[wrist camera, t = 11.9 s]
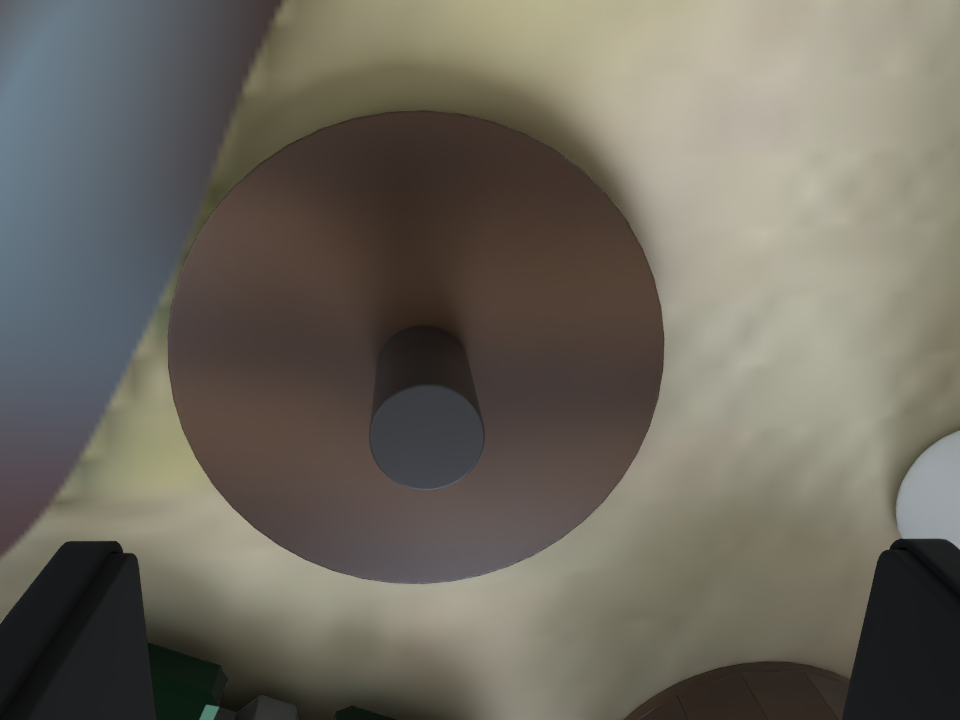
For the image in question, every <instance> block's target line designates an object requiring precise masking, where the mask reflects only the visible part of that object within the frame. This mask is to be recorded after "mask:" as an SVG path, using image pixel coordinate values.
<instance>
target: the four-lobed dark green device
mask: <svg viewBox="0 0 960 720" xmlns="http://www.w3.org/2000/svg"><path fill="white" fill-rule="evenodd" d="M147 645H148V654H149V663H150V672H151V680H152V689H153V698H154V707H155V716H156V720H298V712H297V706H295V705H292V704H289V703H286V702H282V701H279V700H276V699H273V698H270V697H267V696H263V695H259V696H258V697H256V698H255V699H253V700H252V701H250V702H249V703H248V705H246V706H245V707H243V708H242V709H240V710H239V711H237V712H234V711H231V710H228V709H224V708H221V707H219V706H220V703H221V700H222V697H223V693H224V690H225V687H226V684H227V680H228V678H227V677H226V675H225V673H224V671H223V670H222V668H221V666H220V665H217V664H214V663H211V662H208V661H204V660H201V659H198V658H195V657H192V656H189V655H186V654H182V653H179V652H176V651H173V650H170V649H167V648H164V647H161V646H157V645H154V644H151V643H148V642H147ZM332 720H395V719H392V718H389V717H386V716H383V715H380V714H377V713H373V712H370V711H367V710H364V709H361V708H358V707H355V706H350V707H347V708H345V709H342V710H339V711H336V713H335V715H334V717H333V719H332Z"/></svg>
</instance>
